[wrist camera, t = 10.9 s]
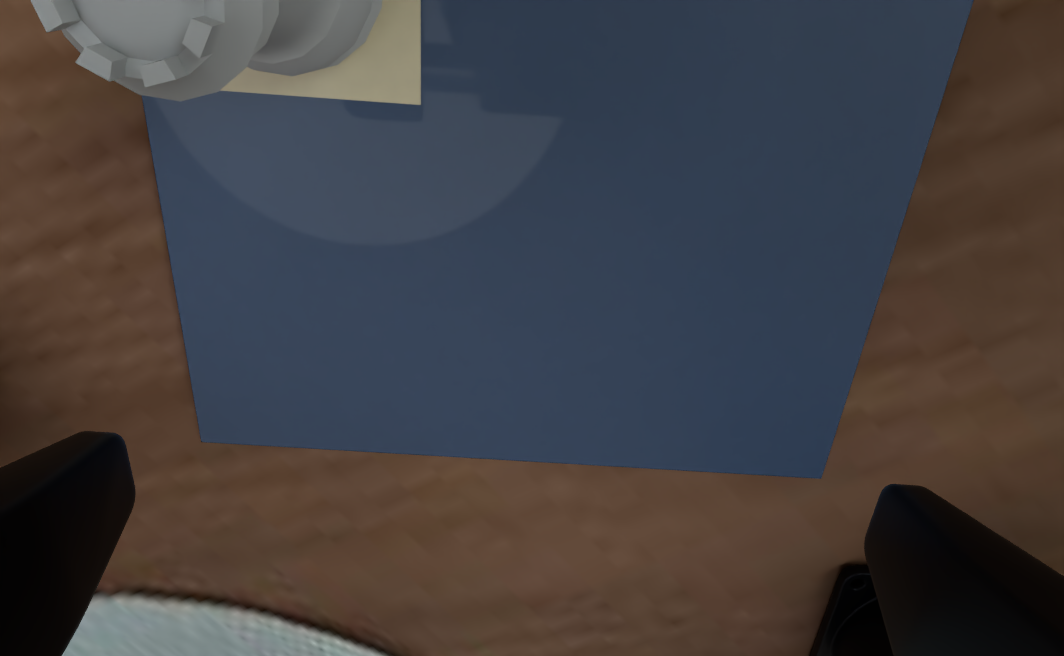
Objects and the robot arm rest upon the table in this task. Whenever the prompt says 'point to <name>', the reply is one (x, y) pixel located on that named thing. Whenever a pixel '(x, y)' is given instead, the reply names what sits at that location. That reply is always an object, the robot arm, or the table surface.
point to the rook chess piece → (206, 39)
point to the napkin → (554, 229)
